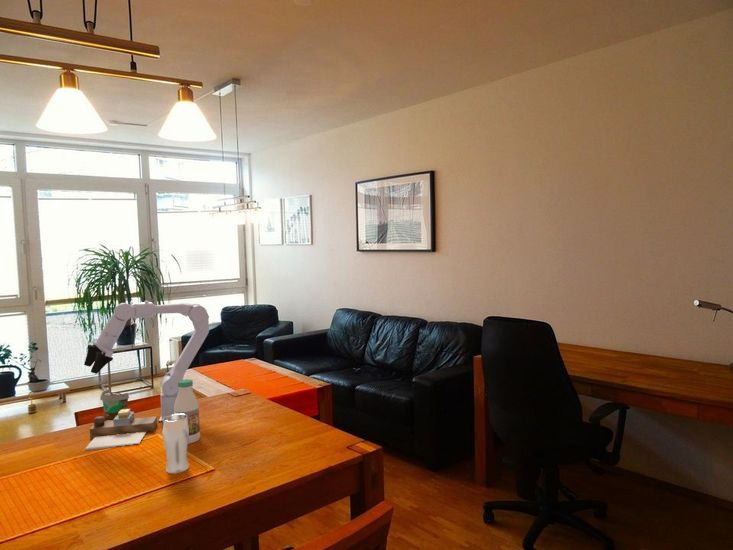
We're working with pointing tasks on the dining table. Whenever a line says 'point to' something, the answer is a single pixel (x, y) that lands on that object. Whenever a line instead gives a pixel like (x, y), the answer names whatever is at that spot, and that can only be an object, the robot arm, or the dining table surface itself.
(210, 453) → the dining table surface
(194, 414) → the milk bottle
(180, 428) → the beer glass
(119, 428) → the body
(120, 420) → the lever cap
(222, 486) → the dining table surface
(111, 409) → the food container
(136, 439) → the rubber mat
